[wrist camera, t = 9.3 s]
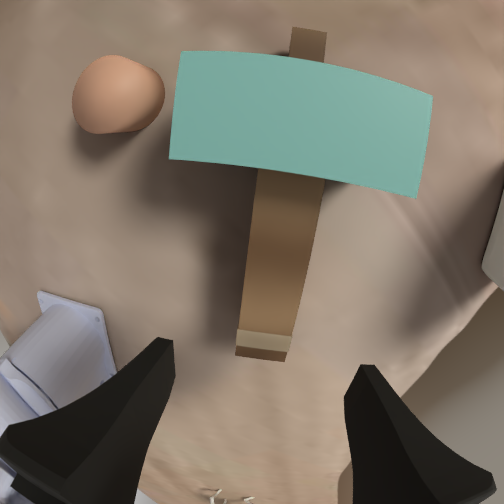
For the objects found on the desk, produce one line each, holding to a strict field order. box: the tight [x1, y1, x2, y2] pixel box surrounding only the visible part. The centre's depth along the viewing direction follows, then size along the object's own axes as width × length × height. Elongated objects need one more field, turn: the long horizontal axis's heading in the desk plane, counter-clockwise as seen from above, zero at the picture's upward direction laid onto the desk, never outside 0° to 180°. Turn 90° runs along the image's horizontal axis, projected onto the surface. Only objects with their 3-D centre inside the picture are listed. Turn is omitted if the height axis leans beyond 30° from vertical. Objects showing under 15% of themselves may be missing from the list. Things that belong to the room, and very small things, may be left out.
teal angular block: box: [169, 51, 433, 199], centre depth 12 cm, size 4×9×7 cm, turn 83°
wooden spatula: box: [235, 27, 327, 362], centre depth 15 cm, size 18×3×4 cm, turn 173°
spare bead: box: [72, 55, 165, 134], centre depth 13 cm, size 4×4×4 cm
